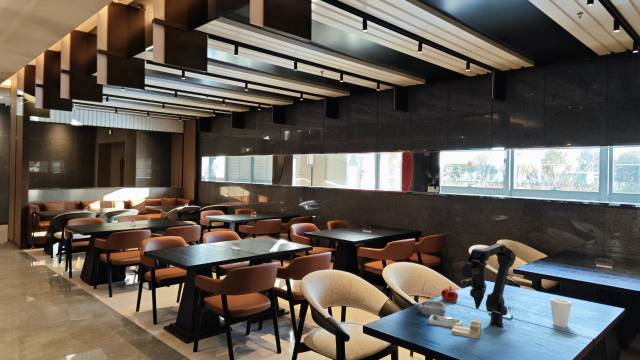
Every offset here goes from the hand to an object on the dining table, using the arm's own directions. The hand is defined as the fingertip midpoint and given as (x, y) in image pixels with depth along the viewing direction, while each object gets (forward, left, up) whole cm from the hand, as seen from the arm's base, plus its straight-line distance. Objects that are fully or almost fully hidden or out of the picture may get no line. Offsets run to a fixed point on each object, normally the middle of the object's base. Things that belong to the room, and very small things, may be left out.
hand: (478, 306), depth 204 cm
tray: (-3, -16, -12) cm, 21 cm away
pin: (-1, -16, -10) cm, 19 cm away
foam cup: (-31, +38, -13) cm, 51 cm away
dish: (-18, -25, -13) cm, 33 cm away
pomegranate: (-46, -20, -13) cm, 52 cm away
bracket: (+6, -5, -12) cm, 15 cm away
